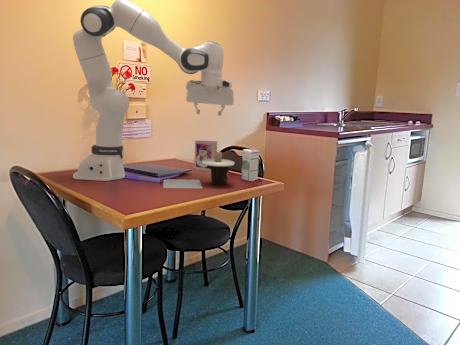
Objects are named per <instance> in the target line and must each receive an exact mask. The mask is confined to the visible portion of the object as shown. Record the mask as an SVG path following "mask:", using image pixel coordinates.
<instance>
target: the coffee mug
mask: <svg viewBox="0 0 460 345" xmlns="http://www.w3.org/2000/svg"><path fill="white" fill-rule="evenodd" d="M230 167H231V166H211V172H210V178H211V185H212V186H214V187H224V186H227V185H228V184H227V183H228V177H229V173H230Z"/></svg>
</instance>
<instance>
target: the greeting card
mask: <svg viewBox="0 0 460 345" xmlns="http://www.w3.org/2000/svg"><path fill="white" fill-rule="evenodd" d="M217 150H218V141H216V140H197V139H196V140H194V160H193V161H194V162H193V164H194V167H193V169H194V170H198V171H204V172H210V173H211V166H209V165H204V164H202V160H204V159H215V152H218V151H217Z"/></svg>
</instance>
